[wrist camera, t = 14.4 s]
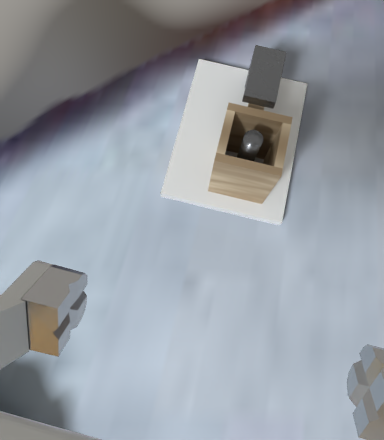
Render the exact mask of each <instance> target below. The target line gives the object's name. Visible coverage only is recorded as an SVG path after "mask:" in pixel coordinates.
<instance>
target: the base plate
mask: <svg viewBox="0 0 384 440" xmlns="http://www.w3.org/2000/svg"><path fill="white" fill-rule="evenodd" d="M248 71H249V70H245V69H241V68H237V67H232V66H228V65H224V64H219V63H215V62H210V61H206V60H202V59H199V61H198V64H197V68H196V71H195V75H194V78H193V82H192V85H191V89H190V92H189V96H188V99H187V103H186V106H185V110H184V113H183V117H182V120H181V124H180V127H179V131H178V134H177V138H176V141H175V145H174V148H173V152H172V155H171V159H170V162H169V166H168V169H167V173H166V176H165V180H164V183H163V187H162V190H161V197H164V198H168V199H172V200H176V201H180V202H184V203H188V204H192V205H196V206H201V207H205V208H209V209H213V210H217V211H221V212H225V213H229V214H234V215H238V216H242V217H246V218H250V219H254V220H258V221H262V222H266V223H271V224H275V225H280V224H281V223H282V220H283V215H284V209H285V204H286V198H287V193H288V187H289V182H290V176H291V171H292V165H293V160H294V154H295V149H296V144H297V138H298V133H299V127H300V122H301V116H302V111H303V105H304V100H305V94H306V89H307V83H302V82H298V81H293V80H289V79H285V78H281V80H280V85H279V90H278V95H277V100H276V104H275V106H274V108H273V109H272V108H267V107H264V111H268V112H272V113H276V114H281V115H285V116H289V117H293V118H292V123H291V129H290V134H289V139H288V144H287V150H286V155H285V160H284V165H283V171H282V176H281V178H280V179H279V181H278V182H277V183H276V185H275V186H274V188H273V189H272V191H271V192H270V193H269V195H268V196H267V198H266V199H265V200H264V202H263V203H262V204H259V203H255V202H251V201H247V200H242V199H238V198H234V197H230V196H226V195H222V194H218V193H213V192H209V191H208V187H209V183H210V178H211V173H212V169H213V164H214V159H215V155H216V151H217V147H218V143H219V139H220V135H221V131H222V127H223V123H224V119H225V115H226V111H227V107H228V103H233V104H238V105H242V106H246V107H247V106H248V103H246V102H242V99H243V95H244V91H245V83H246V79H247V75H248ZM225 155H228V156H233V157H237V155H238V153H235V152H230V151H226V152H225ZM263 161H264V159H260V158H255V160H254V162H258V163H262V164H263Z"/></svg>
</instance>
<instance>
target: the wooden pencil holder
mask: <svg viewBox="0 0 384 440" xmlns="http://www.w3.org/2000/svg"><path fill="white" fill-rule="evenodd" d="M292 118H293V117H289V116H285V115H281V114H276V113H272V112H268V111H264V107H263V106H259V105H255V104H250V103H248V106H247V107H246V106H242V105H238V104H233V103H228V107H227V111H226V115H225V119H224V123H223V127H222V131H221V135H220V139H219V143H218V147H217V151H216V155H215V159H214V164H213V169H212V173H211V178H210V183H209V187H208V191H209V192H213V193H218V194H222V195H226V196H230V197H234V198H238V199H242V200H247V201H251V202H255V203H259V204H262V203H263V202H264V200H265V199H266V198H267V196H268V195H269V193H270V192H271V191H272V189H273V188H274V186H275V185H276V183H277V182H278V181H279V179H280V178H281V176H282V171H283V165H284V160H285V155H286V150H287V144H288V139H289V134H290V129H291V123H292ZM249 130H257V131H259V132H260V133H261V134H262V136H263V143H262V145H261V147H260V150H259V152H258V154H257V156H256V158H260V159H264V161H263V164H262V163H258V162H254V161H249V160H245V159H241V158H237V157H233V156H228V155H225V152H226V151H230V152H235V153H238V152H239V149H240V146H241V143H242V140H243V137H244V135H245V133H246V132H247V131H249Z"/></svg>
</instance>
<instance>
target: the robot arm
mask: <svg viewBox="0 0 384 440" xmlns="http://www.w3.org/2000/svg"><path fill="white" fill-rule="evenodd" d="M86 285H87V275H86V274H85V273H83V272H79V271H75V270H72V269H68V268H65V267H61V266H57V265H52V264H49V263H45V262H42V261H35V262H33V263H32V264H31V265H30V266H29V267H28V268H27V269H26V270H25V271H24V272H23V273H22V274H21V275H20V276H19V277H18V278H17V279H16V280H15V281H14V282H13V283H12V285H11V286H10V287H9V288H8V289H7V290H6V291H5V292H4V293H3V294H2V295H0V369H2V368H4V367H5V366H7V365H8V364H10V363H12V362H13V361H15V360H16V359H18V358H19V357H21V356H23V355H24V354H26V353H27V352H29V350H33V351H37V352H41V353H45V354H49V355H54V356H58V357H59V355H60V354H61V352H62V350H63V349H64V347H65V345H66V344H67V342H68V341H69V339H70V330H72V329H74V328H75V327H77V326H78V324H79V322H80V321H81V319H82V316H83V314H84V311H85V307H86V302H87V295H86V294H85V292H84V291H83V290H84V289H85V287H86ZM359 354H360V357H361V361H359V362H357V363H354V364H353V365H352V367H351V369H350V371H349V373H348V379H347V391H348V395H349V399H350V400H351V401H352V402H353V404H354V405H355V406H356V409H355V410H354V412H353V417H354V421H355V425H356V429H357V433H358V437H359V438H363V439H366V440H384V348H380V347H376V346H372V345H368V344H367V345H366V346H365V347H363V349H362V350H361V352H360V353H359ZM0 440H101V439H98V438H94V437H91V436H87V435H84V434H80V433H77V432H73V431H69V430H66V429H62V428H59V427H55V426H52V425H48V424H45V423H41V422H37V421H34V420H30V419H27V418H23V417H20V416H16V415H13V414H9V413H5V412H2V411H0Z"/></svg>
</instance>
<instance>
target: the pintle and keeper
mask: <svg viewBox="0 0 384 440" xmlns="http://www.w3.org/2000/svg"><path fill="white" fill-rule="evenodd" d="M285 56H286V52H284V51H280V50H275V49H271V48H267V47H262V46H258V45H256V46H255V49H254V53H253V57H252V60H251V64H250V68H249V71H248V75H247V79H246V83H245V91H244V95H243V99H242V102H246V103H250V104H255V105H259V106H263V107H267V108H272V109H273V108H274V106H275V104H276V100H277V95H278V90H279V85H280V80H281V76H282V71H283V66H284V61H285ZM262 143H263V136H262V134H261V133H260V132H259V131H257V130H249V131H247V132H246V133H245V135H244V137H243V140H242V143H241V146H240V149H239V152H238V155H237V158H241V159H245V160H249V161H254V160H255V158H256V156H257V154H258V152H259V150H260V147H261V145H262Z"/></svg>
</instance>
